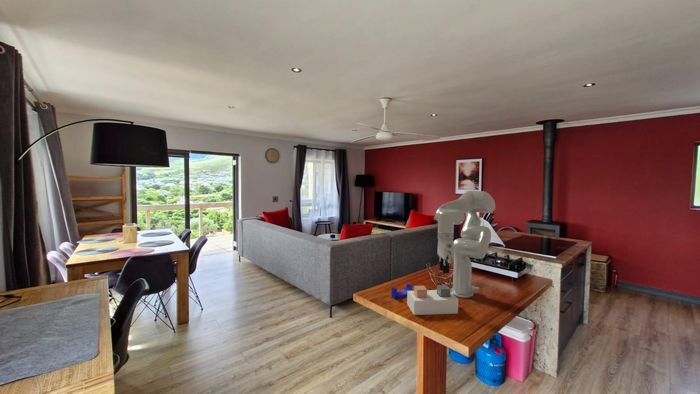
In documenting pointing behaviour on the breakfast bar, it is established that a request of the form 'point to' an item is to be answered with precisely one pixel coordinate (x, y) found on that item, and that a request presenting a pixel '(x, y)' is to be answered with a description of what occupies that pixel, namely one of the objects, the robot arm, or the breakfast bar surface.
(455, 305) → the block
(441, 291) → the charcoal plunger
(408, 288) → the blue curved piece
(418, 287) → the dusty pink cube
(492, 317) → the breakfast bar surface
